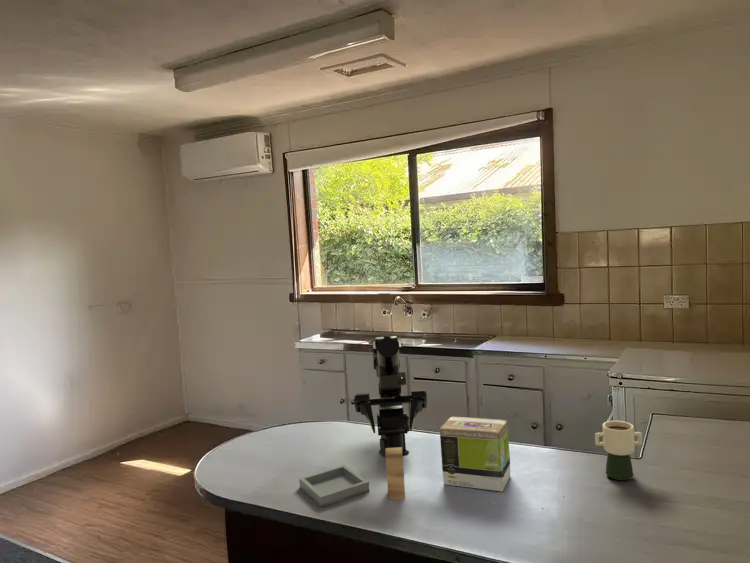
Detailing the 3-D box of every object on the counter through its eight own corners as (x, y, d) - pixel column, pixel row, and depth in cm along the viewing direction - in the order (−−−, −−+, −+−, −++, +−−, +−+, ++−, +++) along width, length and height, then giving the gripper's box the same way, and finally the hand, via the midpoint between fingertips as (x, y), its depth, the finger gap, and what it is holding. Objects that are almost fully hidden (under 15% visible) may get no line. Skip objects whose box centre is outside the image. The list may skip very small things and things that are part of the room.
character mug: (638, 470, 144) (637, 419, 143) (647, 483, 137) (646, 430, 136) (592, 470, 146) (591, 420, 144) (599, 483, 139) (598, 431, 137)
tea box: (511, 475, 146) (508, 418, 145) (502, 493, 137) (499, 433, 136) (454, 468, 153) (450, 414, 151) (442, 485, 143) (438, 427, 142)
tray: (345, 473, 154) (344, 464, 154) (369, 491, 143) (368, 481, 142) (299, 487, 147) (299, 478, 147) (321, 507, 136) (320, 497, 136)
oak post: (388, 491, 142) (385, 448, 141) (404, 490, 142) (401, 447, 141) (388, 499, 138) (385, 454, 137) (405, 498, 138) (402, 453, 137)
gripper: (352, 363, 150) (352, 419, 140) (424, 359, 149) (430, 414, 139) (355, 384, 158) (356, 438, 148) (423, 380, 158) (429, 434, 148)
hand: (392, 431), depth 146 cm, fingers open, 9 cm apart
